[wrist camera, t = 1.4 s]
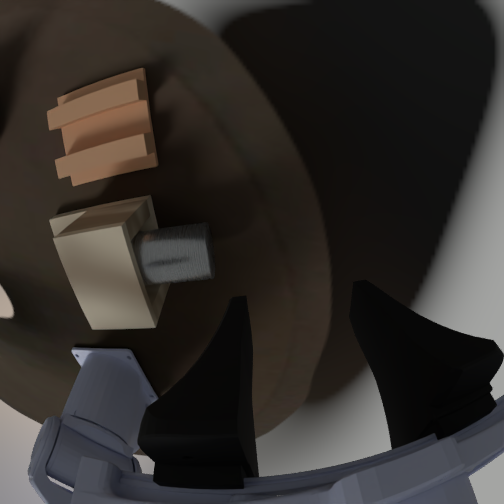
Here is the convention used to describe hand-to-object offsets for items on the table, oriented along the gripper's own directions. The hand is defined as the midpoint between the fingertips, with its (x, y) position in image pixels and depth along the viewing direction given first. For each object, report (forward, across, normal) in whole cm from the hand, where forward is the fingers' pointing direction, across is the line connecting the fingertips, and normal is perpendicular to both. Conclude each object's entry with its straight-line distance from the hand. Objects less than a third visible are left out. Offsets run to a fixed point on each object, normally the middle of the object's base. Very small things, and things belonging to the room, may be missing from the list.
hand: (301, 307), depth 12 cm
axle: (+7, +10, 0) cm, 12 cm away
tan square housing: (+9, +13, 0) cm, 16 cm away
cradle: (+9, +11, -9) cm, 17 cm away
